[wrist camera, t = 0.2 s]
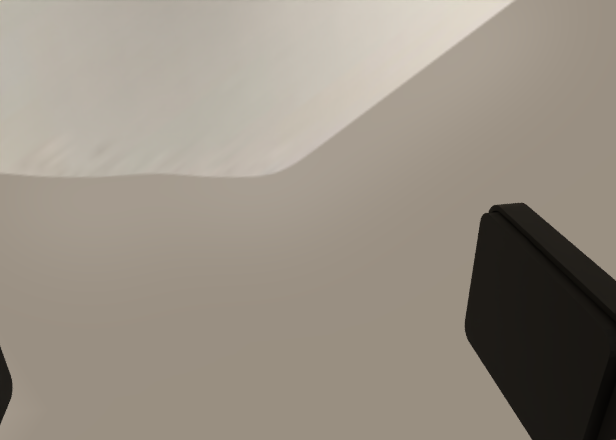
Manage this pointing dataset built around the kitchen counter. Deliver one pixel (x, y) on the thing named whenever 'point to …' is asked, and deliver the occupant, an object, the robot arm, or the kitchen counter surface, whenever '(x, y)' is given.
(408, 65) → the kitchen counter surface
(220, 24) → the kitchen counter surface
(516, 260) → the robot arm
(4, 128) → the kitchen counter surface
